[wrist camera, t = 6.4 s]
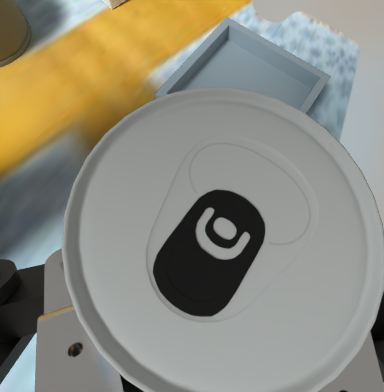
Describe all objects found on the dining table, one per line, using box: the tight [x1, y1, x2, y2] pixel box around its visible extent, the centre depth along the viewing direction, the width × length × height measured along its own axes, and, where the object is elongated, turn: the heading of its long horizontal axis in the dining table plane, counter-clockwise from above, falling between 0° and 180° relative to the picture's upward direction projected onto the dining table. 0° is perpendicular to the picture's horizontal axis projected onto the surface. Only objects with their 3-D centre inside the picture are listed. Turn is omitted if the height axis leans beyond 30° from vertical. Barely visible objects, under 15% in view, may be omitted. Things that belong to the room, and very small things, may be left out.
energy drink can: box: [62, 87, 384, 392], centre depth 11 cm, size 6×6×15 cm
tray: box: [154, 17, 331, 114], centre depth 30 cm, size 16×16×3 cm
